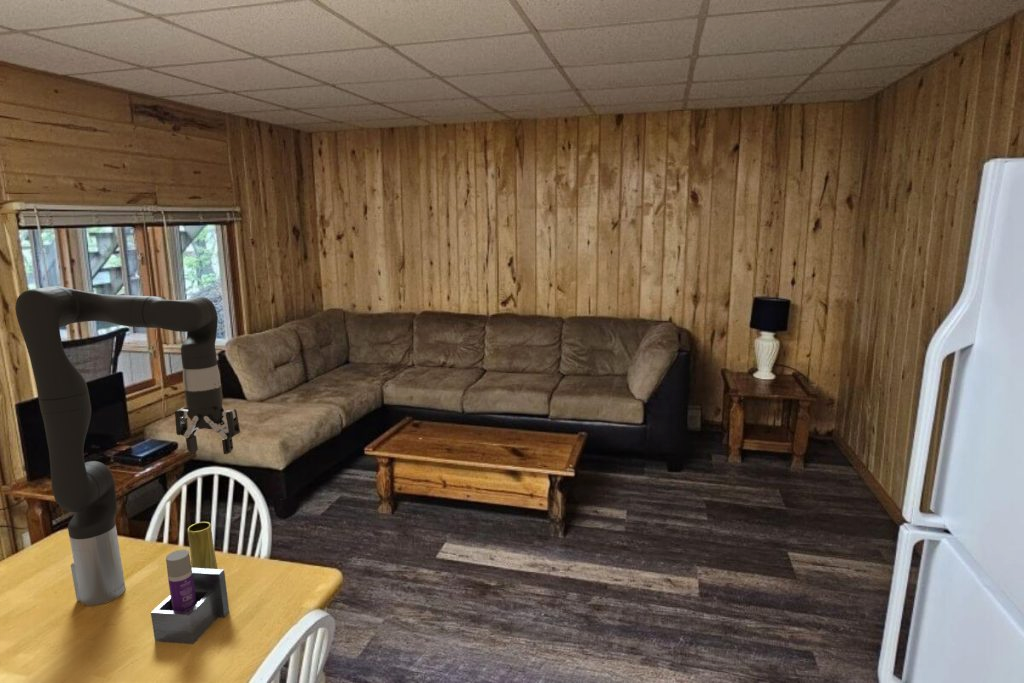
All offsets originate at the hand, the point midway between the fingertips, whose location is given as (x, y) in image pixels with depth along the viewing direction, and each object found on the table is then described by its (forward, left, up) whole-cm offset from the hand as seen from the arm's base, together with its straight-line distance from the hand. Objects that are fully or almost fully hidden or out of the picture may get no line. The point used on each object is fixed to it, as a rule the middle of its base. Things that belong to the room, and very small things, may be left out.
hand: (210, 452), depth 143 cm
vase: (-9, +5, -36) cm, 38 cm away
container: (-1, -14, -33) cm, 36 cm away
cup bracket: (-1, -13, -36) cm, 38 cm away
